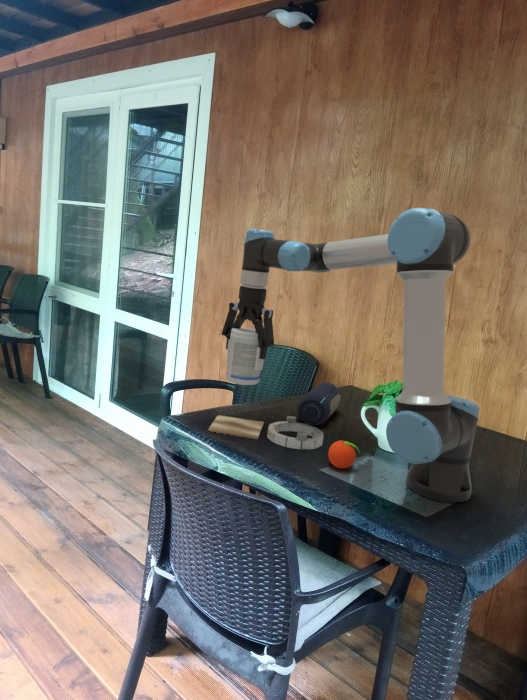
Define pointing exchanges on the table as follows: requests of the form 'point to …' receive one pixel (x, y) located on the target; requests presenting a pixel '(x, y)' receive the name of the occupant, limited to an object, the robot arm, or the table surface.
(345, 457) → the clementine
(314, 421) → the portable speaker
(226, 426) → the mat
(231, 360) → the supplement tub
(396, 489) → the table surface
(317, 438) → the collar
